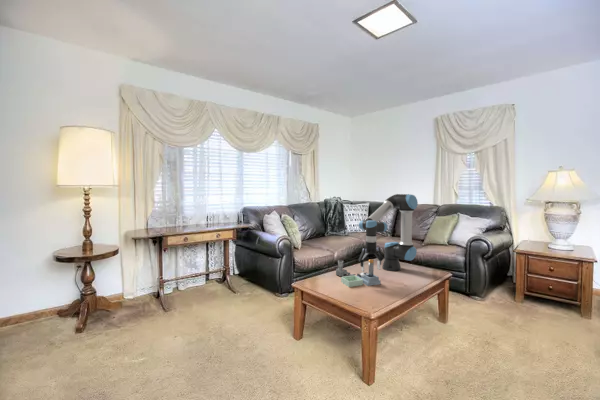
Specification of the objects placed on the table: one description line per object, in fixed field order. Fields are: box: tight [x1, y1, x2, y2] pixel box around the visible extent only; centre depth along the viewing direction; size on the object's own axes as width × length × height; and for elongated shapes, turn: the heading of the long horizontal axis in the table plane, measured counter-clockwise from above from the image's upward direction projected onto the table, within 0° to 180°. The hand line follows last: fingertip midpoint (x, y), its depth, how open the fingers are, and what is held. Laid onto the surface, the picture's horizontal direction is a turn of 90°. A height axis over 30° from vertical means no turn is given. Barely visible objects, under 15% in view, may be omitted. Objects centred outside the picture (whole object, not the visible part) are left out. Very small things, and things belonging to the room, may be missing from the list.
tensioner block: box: [356, 272, 381, 287], centre depth 219 cm, size 17×11×6 cm, turn 19°
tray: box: [340, 275, 364, 288], centre depth 215 cm, size 12×12×4 cm
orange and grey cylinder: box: [368, 258, 375, 277], centre depth 214 cm, size 4×4×15 cm
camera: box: [335, 259, 357, 278], centre depth 232 cm, size 9×12×15 cm
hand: (370, 270), depth 214 cm, fingers open, 13 cm apart
